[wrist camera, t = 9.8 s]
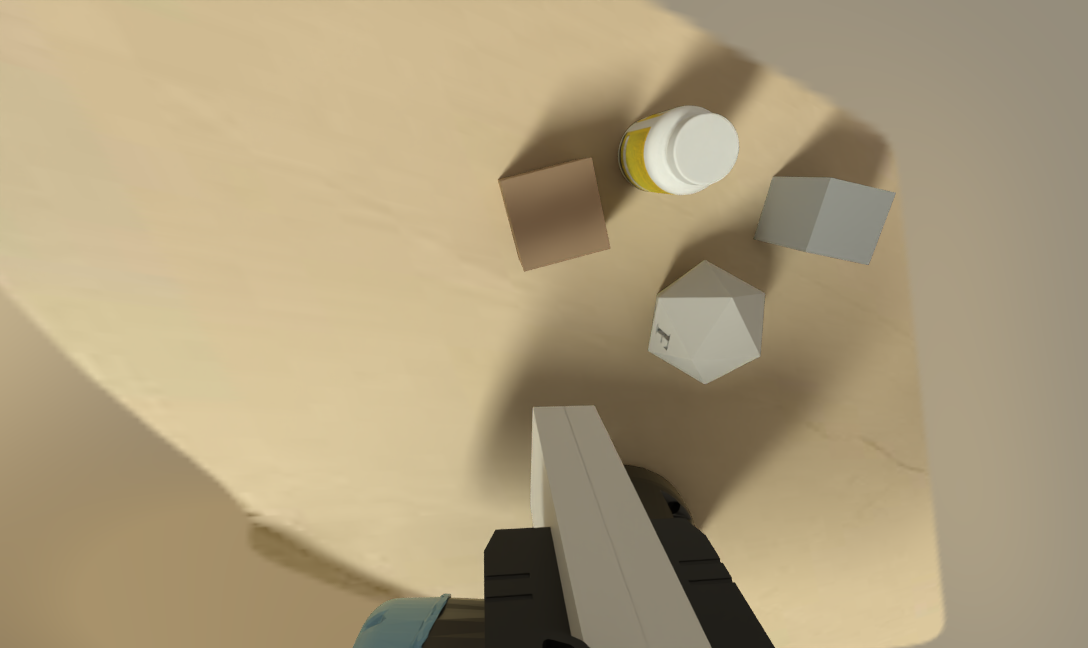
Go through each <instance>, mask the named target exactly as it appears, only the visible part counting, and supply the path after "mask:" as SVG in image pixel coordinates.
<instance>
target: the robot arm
mask: <svg viewBox="0 0 1088 648" xmlns="http://www.w3.org/2000/svg"><path fill="white" fill-rule="evenodd" d="M530 507H531V513H532V520H533V528H519V529H501V530H495V532H494V534H493V536H492V537H491V539H490V541H489V543H488V545H487V547H486V549H485V550H484V599H469V598H451V594H443V595H442V596H441V597H424V598H397V599H392V600H389V601H386V602H384V603H383V604H381V605H380V606H379V607H377V608H376V609H375V610H374V611H373V613H371V615H370V616H369V617H368V619H367V620H366V622H365V623H364V625H363V627H362V629H361V631H360V633H359V635H358V637H357V639H356V641H355V644H354V646H353V648H775V647H774V645H773V644H772V642H771V640H770V639H769V637H768V636H767V634H766V632H765V631H764V629H763V627H762V626H761V624H760V623H759V621H758V619H757V618H756V616H755V614H754V613H753V611H752V610H751V608H750V606H749V605H748V603H747V601H746V600H745V598H744V597H743V595H742V593H741V592H740V590H739V589H738V587H737V585H736V584H735V582H734V583H733V582H732V577H731V576H730V574H729V572H728V571H727V569H726V567H725V566H724V564H723V563H721V562H720V558H719V556H718V554H717V553H716V551H715V550H714V548H713V546H712V545H711V543H710V541H709V540H708V538H707V537H706V535H704V534H703V533H702V532H701V531H700V530H698V529H697V528H696V527H695V526H694V522H693V519H692V516H691V514H690V512H689V510H688V508H687V506H686V505H685V503H684V502H683V500H682V498H681V497H680V495H679V493H678V492H677V491H676V489H675V488H674V487H673V486H672V485H671V484H670V483H669V482H668V481H667V480H665V479H664V478H662V477H661V476H659V475H657V474H656V473H654V472H651V471H649V470H646V469H643V468H639V467H634V466H625V465H623V463H622V461H621V459H620V457H619V455H618V453H617V451H616V449H615V447H614V445H613V443H612V441H611V438H610V436H609V434H608V432H607V430H606V428H605V426H604V424H603V422H602V420H601V418H600V416H599V414H598V412H597V409H596V407H595V405H587V406H549V407H533V414H532V455H531V496H530Z"/></svg>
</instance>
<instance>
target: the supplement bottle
mask: <svg viewBox="0 0 1088 648" xmlns="http://www.w3.org/2000/svg"><path fill="white" fill-rule="evenodd" d="M738 153H739V139H738V135H737V132H736V130H735V128H734V126H733V125H732V124H731V122H730V121H729V120H728V119H726V118H725V117H723V116H721V115H719V114H715V113H712V112H710V111H709V110H707V109H705V108H702V107H699V106H690V105H689V106H681V107H677V108H673V109H670V110H667V111H664V112H660V113H657V114H654V115H651V116H648V117H645V118H642V119H640V120H638V121H637V122H635V123H634V124H633V125H631V126H630V127H629V128H628V129H627V131H626V132H625V134H624V135H623V137H622V139H621V142H620V145H619V149H618V162H619V167H620V170H621V172H622V174H623V176H624V177H625V179H626V180H627V181H628V182H629V183H630V184H631V185H633V186H634V187H636V188H638V189H641V190H643V191H648V192H656V193H666V194H673V195H688V194H693V193H696V192H699V191H701V190H703V189H705V188H706V187H708V186H709V185H710V184H713V183H716V182H718V181H719V180H721V179H722V178H724V177H725V176H726V175H727V174H728V173H729V172H730V171H731V169H732V168H733V166H734V164H735V162H736V160H737V157H738Z"/></svg>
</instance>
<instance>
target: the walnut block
mask: <svg viewBox="0 0 1088 648" xmlns="http://www.w3.org/2000/svg"><path fill="white" fill-rule="evenodd" d="M498 182H499V186H500V189H501V193H502V197H503V201H504V204H505V208H506V212H507V216H508V220H509V223H510V227H511V231H512V235H513V238H514V242H515V246H516V250H517V254H518V257H519V260H520V262H521V265H522V267H523V269H524V272H525V271H528V270H532V269H536V268H539V267H543V266H547V265H551V264H554V263H558V262H562V261H566V260H569V259H573V258H577V257H580V256H584V255H588V254H592V253H595V252H599V251H603V250H607V249H610V244H609V239H608V234H607V229H606V224H605V219H604V214H603V210H602V205H601V200H600V195H599V190H598V185H597V180H596V176H595V171H594V166H593V161H592V157H590V158H582V159H575V160H571V161H567V162H563V163H559V164H556V165H552V166H548V167H544V168H540V169H536V170H533V171H529V172H525V173H521V174H517V175H513V176H510V177H506V178H502V179H498Z"/></svg>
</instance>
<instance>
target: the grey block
mask: <svg viewBox="0 0 1088 648" xmlns="http://www.w3.org/2000/svg"><path fill="white" fill-rule="evenodd" d="M895 194H896V193H894V192H890V191H886V190H881V189H877V188H873V187H869V186H864V185H860V184H856V183H852V182H848V181H843V180H839V179H835V178H829V177H773V178H772V181H771V185H770V188H769V191H768V194H767V197H766V201H765V204H764V207H763V210H762V213H761V217H760V220H759V223H758V226H757V229H756V233H755V236H754V239H755V240H759V241H763V242H767V243H771V244H775V245H779V246H783V247H787V248H792V249H796V250H800V251H804V252H808V253H813V254H818V255H823V256H827V257H832V258H837V259H842V260H847V261H852V262H856V263H861V264H866V265H869V263H870V260H871V258H872V255H873V252H874V250H875V247H876V244H877V242H878V239H879V236H880V234H881V231H882V228H883V226H884V223H885V220H886V218H887V215H888V212H889V210H890V207H891V204H892V202H893V199H894V196H895Z"/></svg>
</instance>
